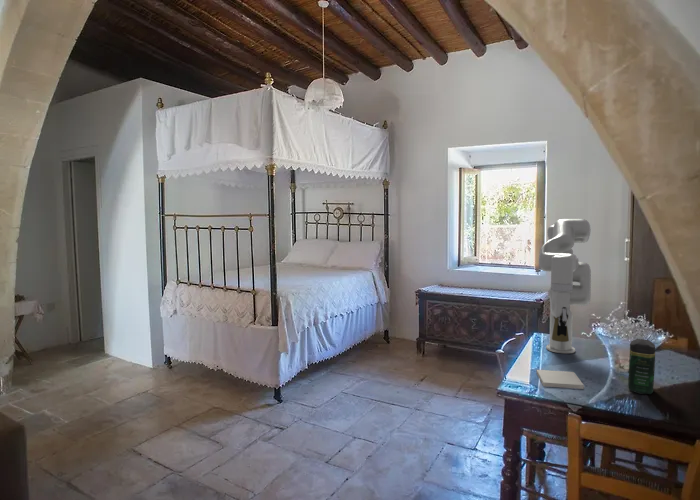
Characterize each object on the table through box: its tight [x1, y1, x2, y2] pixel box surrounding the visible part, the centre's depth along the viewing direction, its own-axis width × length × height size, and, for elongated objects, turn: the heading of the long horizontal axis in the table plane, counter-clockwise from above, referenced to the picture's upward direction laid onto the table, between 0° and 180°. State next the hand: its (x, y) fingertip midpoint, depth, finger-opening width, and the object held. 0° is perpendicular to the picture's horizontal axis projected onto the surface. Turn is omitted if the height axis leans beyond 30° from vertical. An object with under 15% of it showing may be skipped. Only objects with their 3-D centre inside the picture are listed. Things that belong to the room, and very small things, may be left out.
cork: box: [552, 315, 569, 342], centre depth 171 cm, size 6×6×11 cm
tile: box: [536, 369, 585, 390], centre depth 172 cm, size 14×14×2 cm
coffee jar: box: [627, 338, 656, 395], centre depth 162 cm, size 10×8×19 cm
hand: (560, 333), depth 171 cm, fingers closed on cork, 3 cm apart
